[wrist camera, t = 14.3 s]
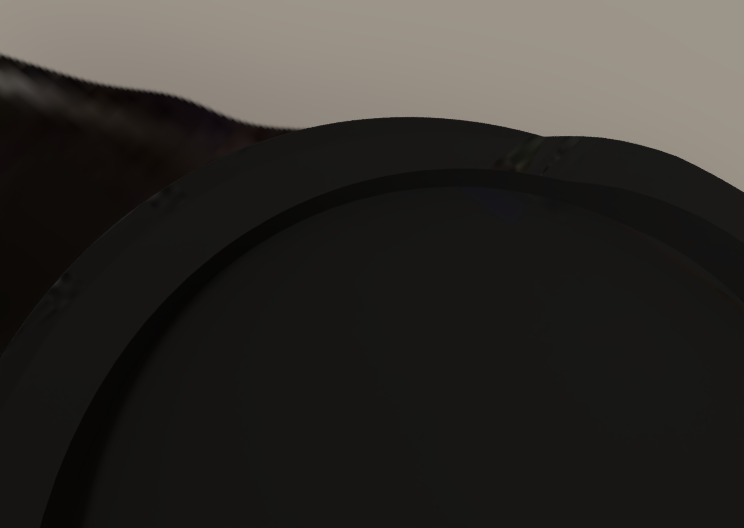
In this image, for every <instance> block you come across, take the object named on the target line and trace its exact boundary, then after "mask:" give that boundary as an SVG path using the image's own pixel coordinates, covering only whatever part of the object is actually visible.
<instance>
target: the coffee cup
mask: <svg viewBox="0 0 744 528" xmlns="http://www.w3.org/2000/svg"><path fill="white" fill-rule="evenodd" d="M0 528H744V192H742V191H740V190H739V189H737V188H736V187H734V186H732V185H730V184H729V183H727V182H725V181H723V180H722V179H720V178H718V177H716V176H714V175H713V174H711V173H708V172H707V171H705V170H703V169H701V168H699V167H697V166H695V165H694V164H691V163H689V162H687V161H685V160H683V159H681V158H679V157H677V156H674V155H671V154H668V153H665V152H662V151H660V150H656V149H653V148H649V147H645V146H642V145H638V144H633V143H629V142H625V141H620V140H614V139H607V138H599V137H584V136H555V137H554V136H552V137H543V136H539V135H536V134H532V133H528V132H524V131H520V130H516V129H511V128H507V127H502V126H496V125H491V124H485V123H479V122H472V121H464V120H455V119H454V120H453V119H444V118H427V117H426V118H424V117H391V118H374V119H362V120H352V121H345V122H338V123H332V124H327V125H321V126H316V127H311V128H307V129H302V130H298V131H294V132H291V133H287V134H283V135H280V136H276V137H273V138H270V139H267V140H264V141H261V142H258V143H255V144H253V145H250V146H247V147H245V148H242V149H240V150H237V151H234V152H232V153H230V154H228V155H225V156H223V157H221V158H218V159H216V160H214V161H212V162H210V163H208V164H206V165H204V166H202V167H200V168H198V169H196V170H194V171H192V172H191V173H189V174H187V175H185V176H183V177H182V178H180V179H178V180H176V181H175V182H173V183H172V184H170V185H168V186H167V187H165V188H163V189H162V190H160V191H159V192H157V193H156V194H154V195H153V196H151V197H150V198H148V199H147V200H146V201H144V202H143V203H141V204H140V205H139V206H137V207H136V208H134V209H133V210H132V211H131V212H129V213H128V214H127V215H125V216H124V217H123V218H122V219H120V220H119V221H118V222H117V223H115V224H114V225H113V226H112V227H111V228H109V229H108V230H107V231H106V232H105V233H104V234H103V235H101V236H100V237H99V238H98V239H97V240H96V241H95V242H94V243H93V244H92V245H91V246H90V247H88V248H87V249H86V250H85V251H84V252H83V253H82V254H81V255H80V256H79V257H78V258H77V259H76V260H75V261H74V262H73V263H72V264H71V265H70V267H69V268H68V269H67V270H66V271H65V272H64V273H63V274H62V275H61V276H60V277H59V279H58V280H57V281H56V282H55V283H54V284H53V286H52V287H51V288H50V289H49V290H48V291H47V293H46V294H45V295H44V296H43V298H42V299H41V300H40V301H39V303H38V304H37V305H36V306H35V308H34V309H33V310H32V312H31V313H30V314H29V316H28V317H27V319H26V320H25V321H24V323H23V324H22V326H21V327H20V328H19V330H18V331H17V333H16V334H15V336H14V337H13V339H12V340H11V342H10V343H9V345H8V346H7V348H6V349H5V351H4V353H3V354H2V356H1V358H0Z"/></svg>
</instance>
